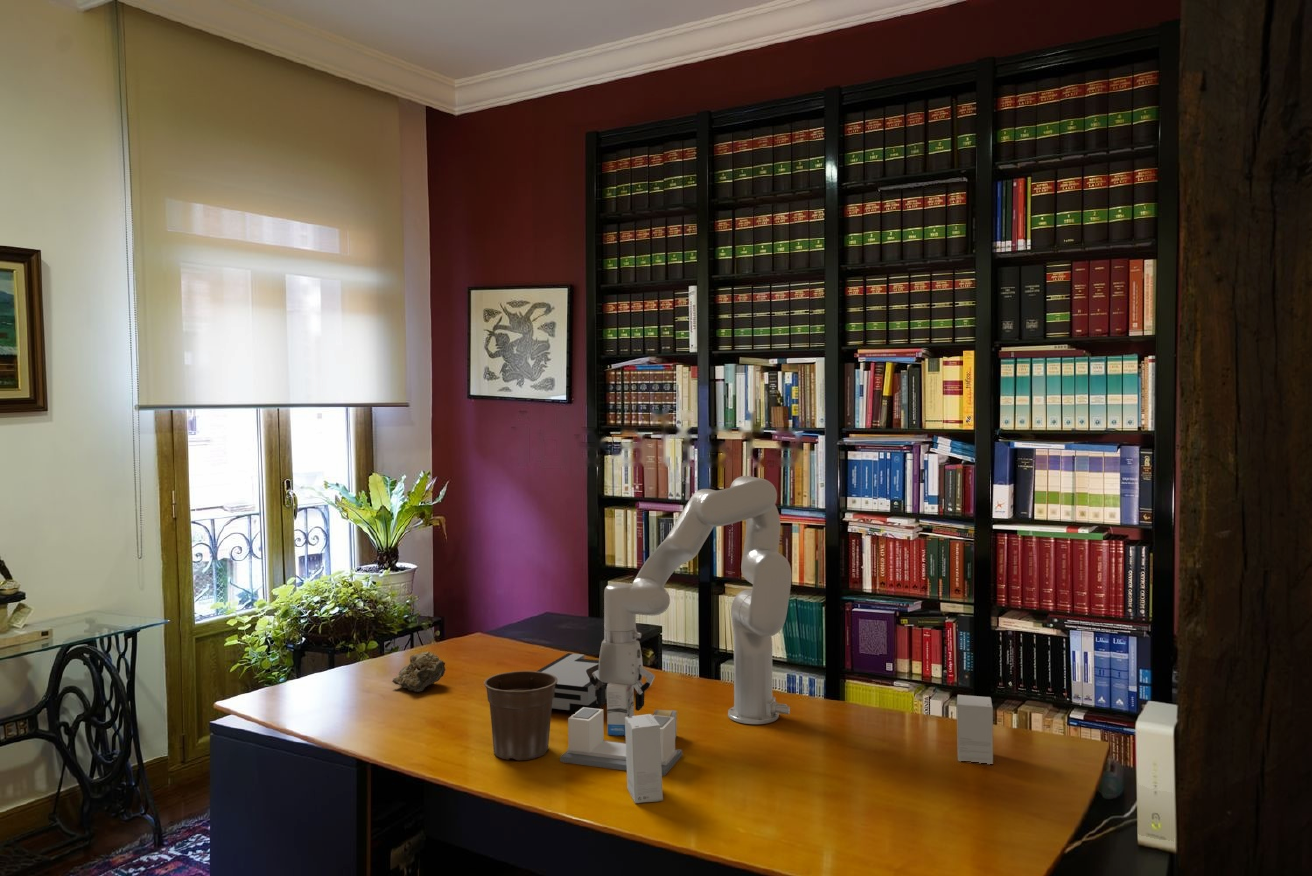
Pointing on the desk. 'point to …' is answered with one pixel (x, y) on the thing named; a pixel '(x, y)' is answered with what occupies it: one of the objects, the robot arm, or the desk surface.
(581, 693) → the game console
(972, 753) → the supplement box
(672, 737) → the white u-shaped stand
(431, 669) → the mineral specimen
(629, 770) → the skincare box
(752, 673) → the robot arm
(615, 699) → the ink box
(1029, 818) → the desk surface
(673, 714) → the block
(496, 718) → the plant pot
